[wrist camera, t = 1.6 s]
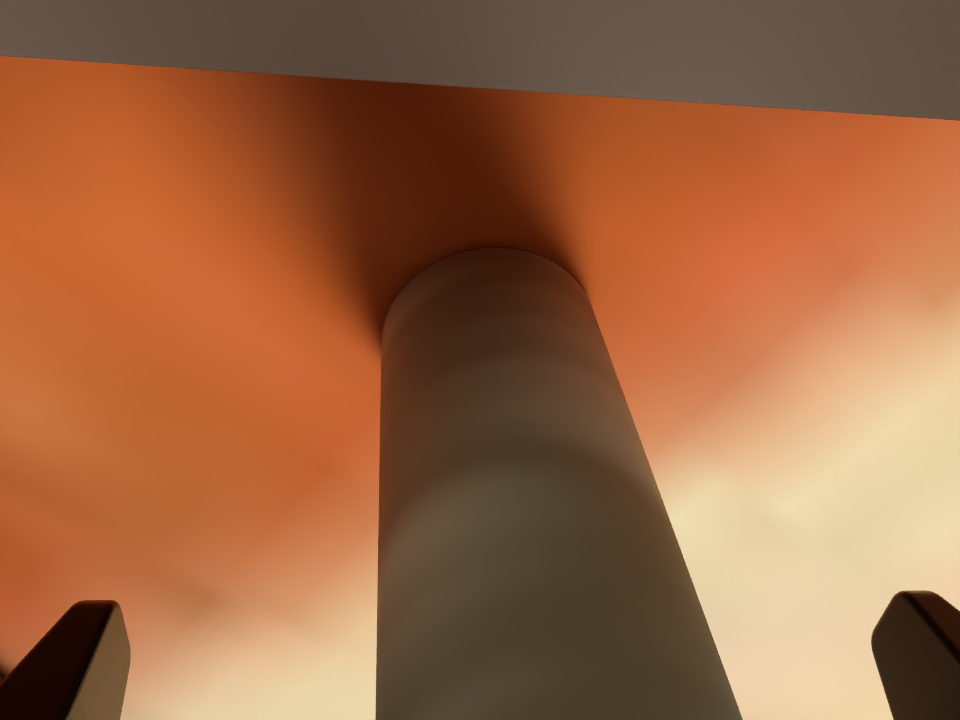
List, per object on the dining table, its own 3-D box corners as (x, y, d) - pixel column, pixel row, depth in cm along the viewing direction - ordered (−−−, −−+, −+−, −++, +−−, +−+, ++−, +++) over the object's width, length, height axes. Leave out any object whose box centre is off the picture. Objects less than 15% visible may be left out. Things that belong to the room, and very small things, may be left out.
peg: (378, 423, 15) (364, 1230, 7) (384, 242, 13) (374, 1097, 5) (577, 426, 15) (787, 1184, 7) (614, 252, 13) (973, 1047, 5)
